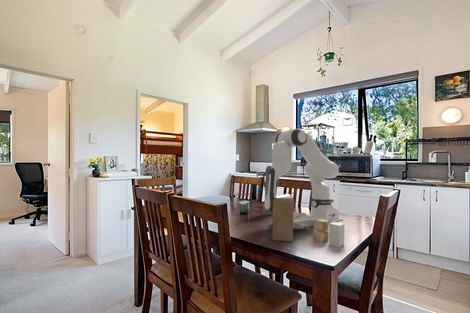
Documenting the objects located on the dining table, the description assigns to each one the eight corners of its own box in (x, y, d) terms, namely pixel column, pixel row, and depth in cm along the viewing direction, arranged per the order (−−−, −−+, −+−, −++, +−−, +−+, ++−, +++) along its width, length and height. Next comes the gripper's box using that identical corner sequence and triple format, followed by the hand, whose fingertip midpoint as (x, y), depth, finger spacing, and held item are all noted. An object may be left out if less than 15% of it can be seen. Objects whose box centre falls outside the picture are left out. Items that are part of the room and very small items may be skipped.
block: (293, 242, 123) (293, 201, 123) (272, 241, 125) (272, 200, 125) (292, 236, 133) (293, 198, 133) (273, 235, 135) (273, 197, 135)
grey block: (334, 242, 124) (334, 221, 124) (344, 244, 120) (344, 223, 120) (329, 244, 121) (329, 223, 121) (339, 247, 117) (339, 225, 117)
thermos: (263, 212, 190) (264, 165, 190) (279, 213, 186) (279, 166, 186) (260, 214, 182) (261, 166, 182) (277, 216, 178) (277, 166, 178)
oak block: (320, 238, 130) (321, 218, 130) (328, 241, 126) (328, 220, 126) (313, 239, 128) (313, 219, 128) (320, 242, 124) (321, 222, 124)
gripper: (278, 215, 141) (295, 221, 129) (306, 212, 150) (324, 217, 138) (278, 227, 141) (294, 234, 129) (306, 223, 150) (324, 229, 138)
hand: (310, 225), depth 133 cm, fingers open, 8 cm apart
